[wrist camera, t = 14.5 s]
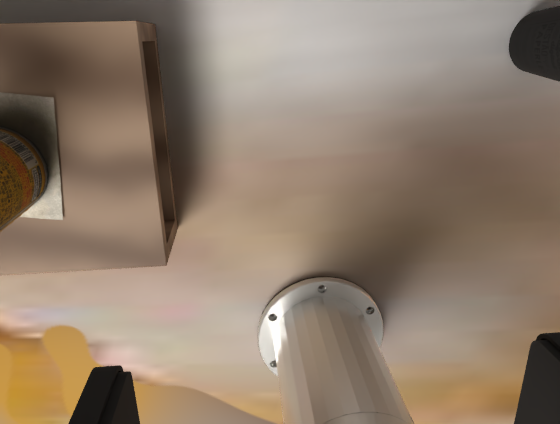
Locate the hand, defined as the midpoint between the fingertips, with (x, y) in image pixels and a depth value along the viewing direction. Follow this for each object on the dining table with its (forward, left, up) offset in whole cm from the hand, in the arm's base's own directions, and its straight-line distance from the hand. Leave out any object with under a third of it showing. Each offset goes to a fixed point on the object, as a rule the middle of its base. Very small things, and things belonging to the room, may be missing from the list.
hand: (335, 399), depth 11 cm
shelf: (0, +18, -30) cm, 35 cm away
